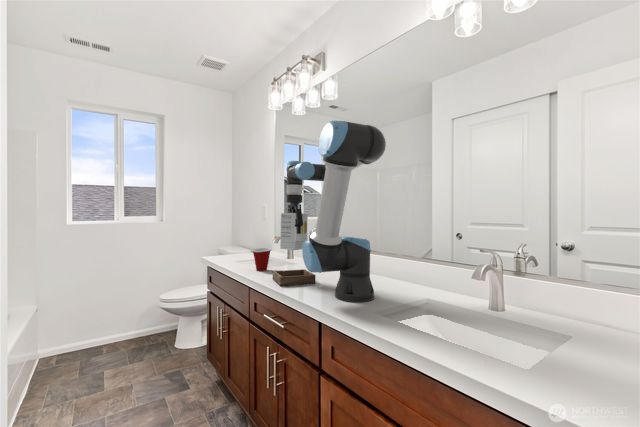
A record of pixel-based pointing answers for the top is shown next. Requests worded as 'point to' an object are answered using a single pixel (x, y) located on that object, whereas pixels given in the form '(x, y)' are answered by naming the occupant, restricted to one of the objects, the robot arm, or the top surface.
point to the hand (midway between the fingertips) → (293, 239)
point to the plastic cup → (261, 258)
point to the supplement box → (292, 231)
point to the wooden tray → (293, 277)
